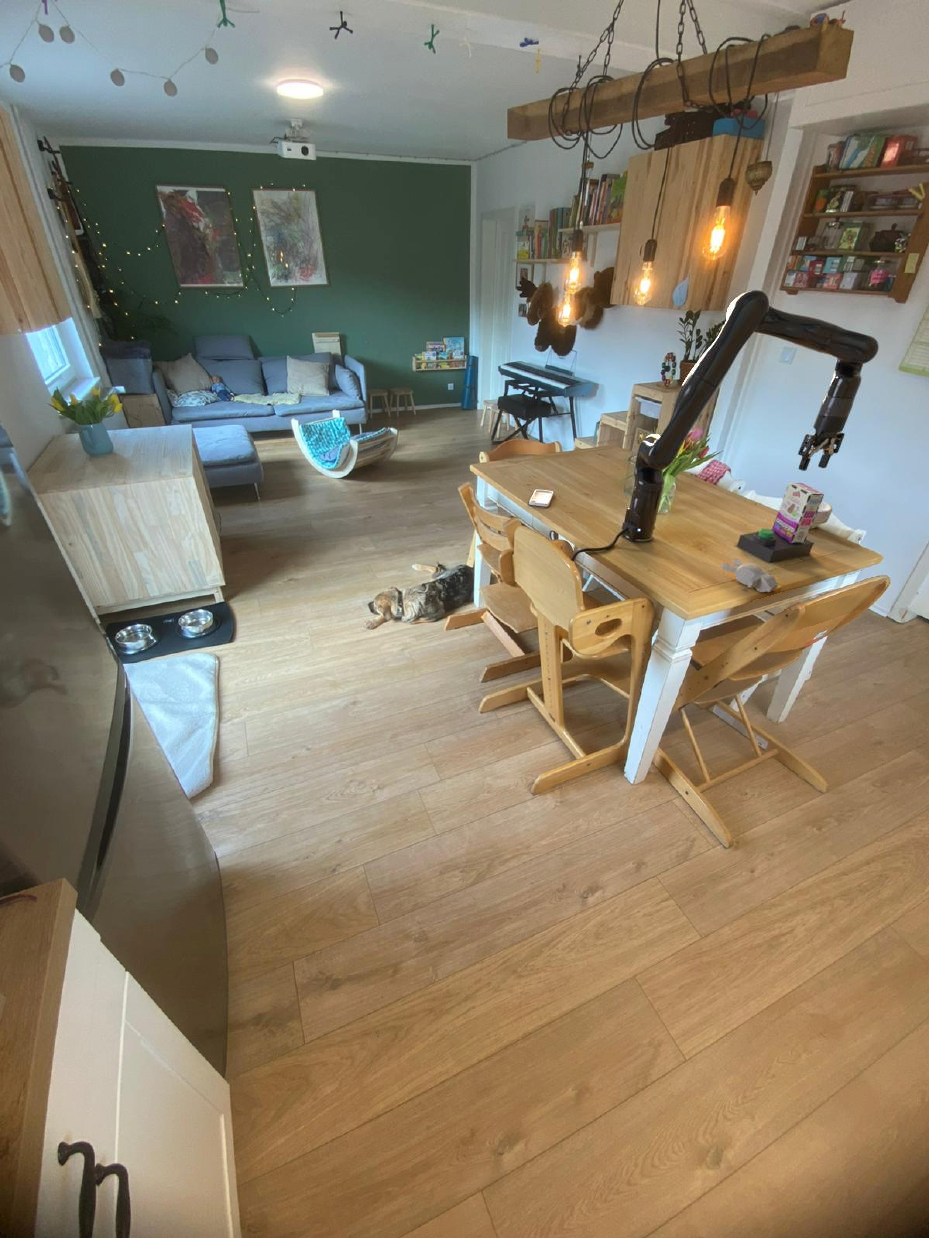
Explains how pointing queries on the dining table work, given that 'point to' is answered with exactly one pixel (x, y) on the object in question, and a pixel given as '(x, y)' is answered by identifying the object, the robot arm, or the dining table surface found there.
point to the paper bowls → (822, 514)
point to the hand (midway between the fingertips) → (811, 468)
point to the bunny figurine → (752, 576)
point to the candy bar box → (797, 512)
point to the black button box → (773, 547)
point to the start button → (766, 533)
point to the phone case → (541, 498)
